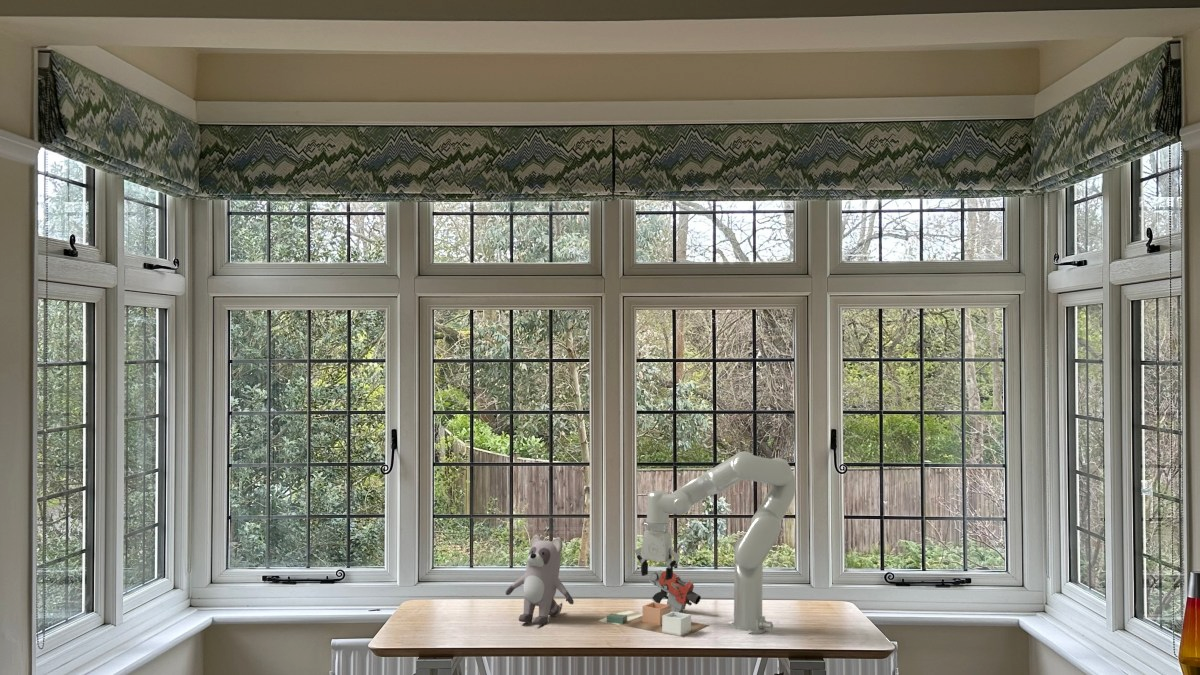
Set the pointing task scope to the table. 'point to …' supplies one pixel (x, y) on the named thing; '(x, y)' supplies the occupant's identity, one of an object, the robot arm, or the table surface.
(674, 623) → the white open cubby box
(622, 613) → the board
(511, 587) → the toy
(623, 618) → the tin
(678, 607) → the toy gun
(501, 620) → the table surface
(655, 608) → the peach open cubby box
